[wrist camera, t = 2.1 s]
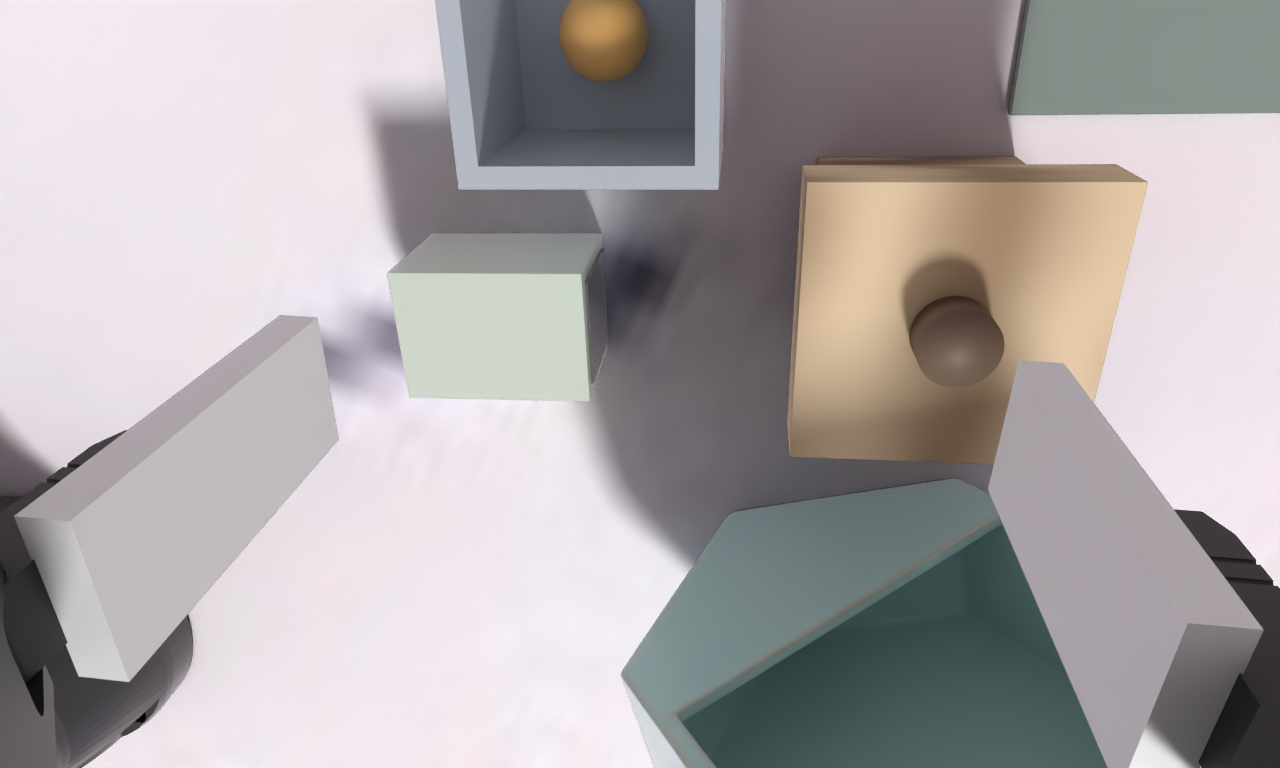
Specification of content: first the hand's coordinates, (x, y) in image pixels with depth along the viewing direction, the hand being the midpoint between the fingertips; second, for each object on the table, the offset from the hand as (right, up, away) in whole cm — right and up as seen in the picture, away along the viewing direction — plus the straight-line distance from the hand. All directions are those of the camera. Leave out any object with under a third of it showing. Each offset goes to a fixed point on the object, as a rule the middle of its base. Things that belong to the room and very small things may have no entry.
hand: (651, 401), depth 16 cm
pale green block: (-5, +4, +19) cm, 20 cm away
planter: (+10, -8, +23) cm, 27 cm away
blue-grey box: (-1, +13, +14) cm, 19 cm away
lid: (+9, +3, +11) cm, 15 cm away
